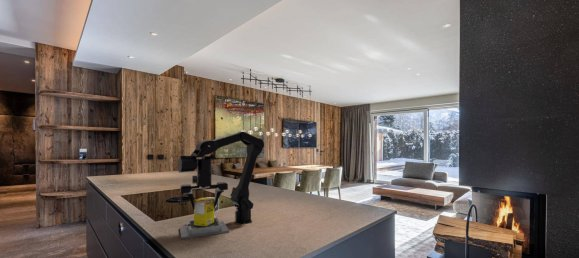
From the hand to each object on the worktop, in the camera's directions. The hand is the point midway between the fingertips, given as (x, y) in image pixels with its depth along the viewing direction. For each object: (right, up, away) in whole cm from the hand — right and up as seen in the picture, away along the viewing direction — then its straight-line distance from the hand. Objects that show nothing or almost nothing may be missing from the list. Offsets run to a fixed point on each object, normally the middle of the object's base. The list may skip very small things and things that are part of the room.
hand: (204, 208), depth 110 cm
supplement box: (0, -7, 0) cm, 7 cm away
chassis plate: (0, -9, -1) cm, 9 cm away
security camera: (-2, -10, +14) cm, 18 cm away
